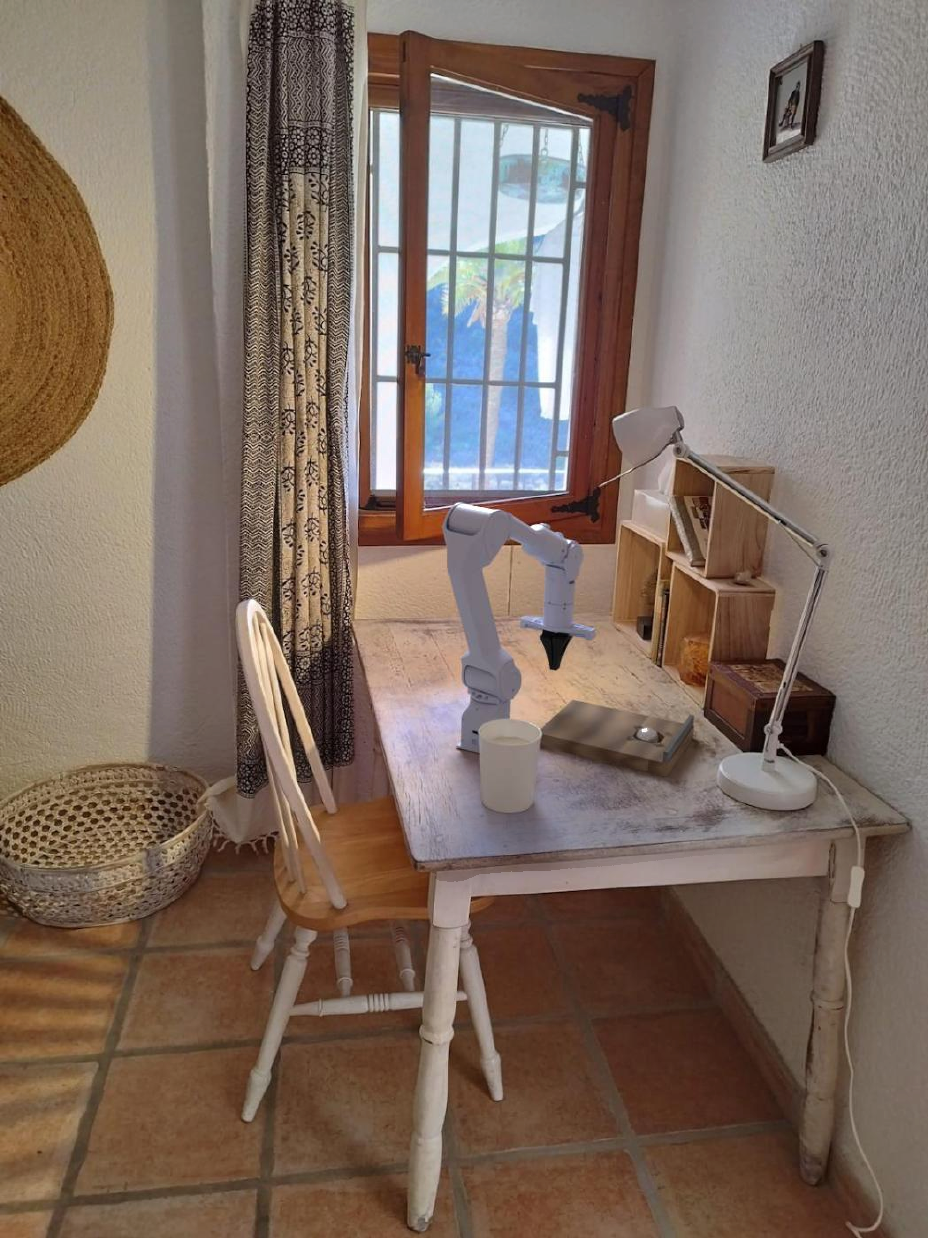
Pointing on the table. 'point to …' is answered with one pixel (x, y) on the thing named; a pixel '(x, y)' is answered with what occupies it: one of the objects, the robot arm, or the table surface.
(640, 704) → the table surface
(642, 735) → the ball
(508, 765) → the candle holder
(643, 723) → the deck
